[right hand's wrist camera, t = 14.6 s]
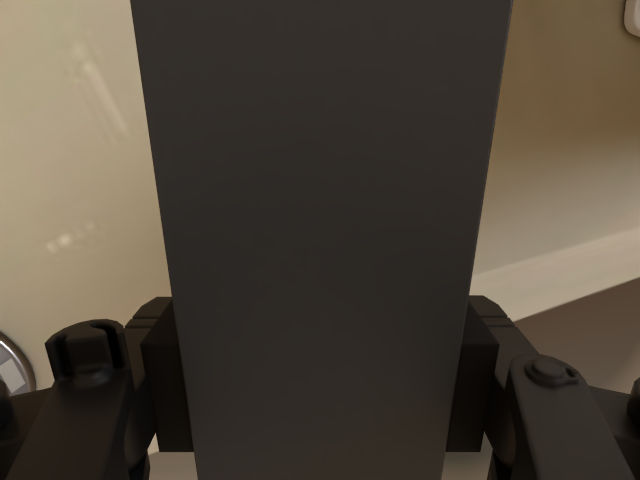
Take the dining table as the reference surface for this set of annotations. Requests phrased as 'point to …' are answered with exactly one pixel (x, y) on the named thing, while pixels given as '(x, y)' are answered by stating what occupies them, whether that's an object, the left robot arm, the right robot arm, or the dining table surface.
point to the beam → (320, 222)
